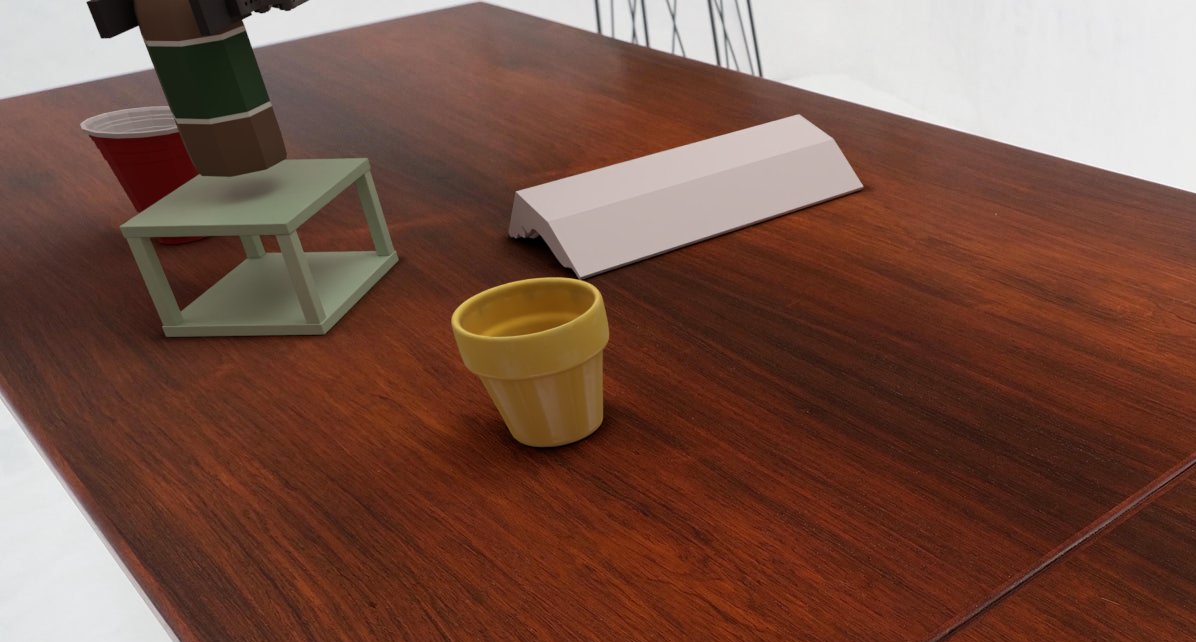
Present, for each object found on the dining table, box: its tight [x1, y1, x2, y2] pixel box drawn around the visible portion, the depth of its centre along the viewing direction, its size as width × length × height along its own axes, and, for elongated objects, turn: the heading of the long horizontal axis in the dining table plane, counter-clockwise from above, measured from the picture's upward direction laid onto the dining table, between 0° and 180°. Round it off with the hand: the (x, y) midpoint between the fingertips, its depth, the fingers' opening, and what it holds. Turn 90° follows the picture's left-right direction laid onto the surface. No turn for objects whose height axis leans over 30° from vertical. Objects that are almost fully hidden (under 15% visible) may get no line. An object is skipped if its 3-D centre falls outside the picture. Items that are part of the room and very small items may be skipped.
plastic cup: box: [79, 105, 209, 245], centre depth 127 cm, size 11×11×12 cm
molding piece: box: [507, 113, 865, 281], centre depth 131 cm, size 32×12×10 cm
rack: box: [119, 157, 400, 338], centre depth 114 cm, size 14×16×10 cm
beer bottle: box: [134, 0, 288, 177], centre depth 103 cm, size 8×8×24 cm
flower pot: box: [450, 277, 610, 448], centre depth 93 cm, size 10×10×10 cm
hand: (149, 18), depth 98 cm, fingers closed on beer bottle, 7 cm apart
